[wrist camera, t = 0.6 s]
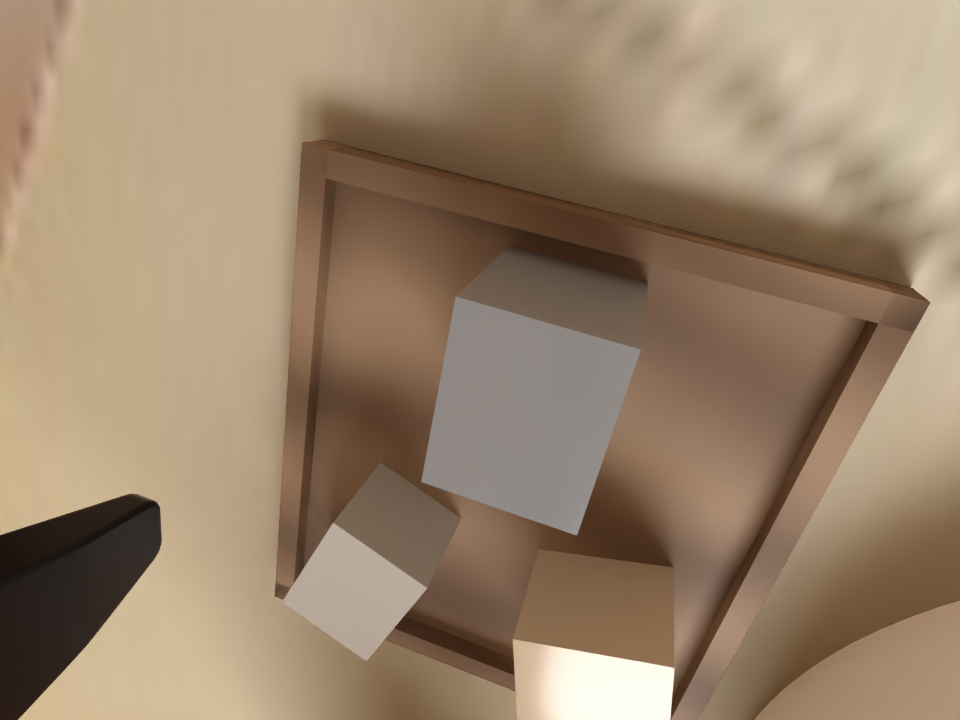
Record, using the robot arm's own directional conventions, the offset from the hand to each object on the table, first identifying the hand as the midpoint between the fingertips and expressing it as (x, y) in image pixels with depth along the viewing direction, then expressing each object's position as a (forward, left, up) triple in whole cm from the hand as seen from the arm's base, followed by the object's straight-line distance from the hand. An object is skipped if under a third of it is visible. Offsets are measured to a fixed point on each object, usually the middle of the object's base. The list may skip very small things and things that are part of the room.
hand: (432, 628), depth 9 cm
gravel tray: (-5, 0, -12) cm, 13 cm away
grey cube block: (0, 0, -11) cm, 11 cm away
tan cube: (-9, -4, -11) cm, 15 cm away
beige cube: (-9, +4, -11) cm, 15 cm away
